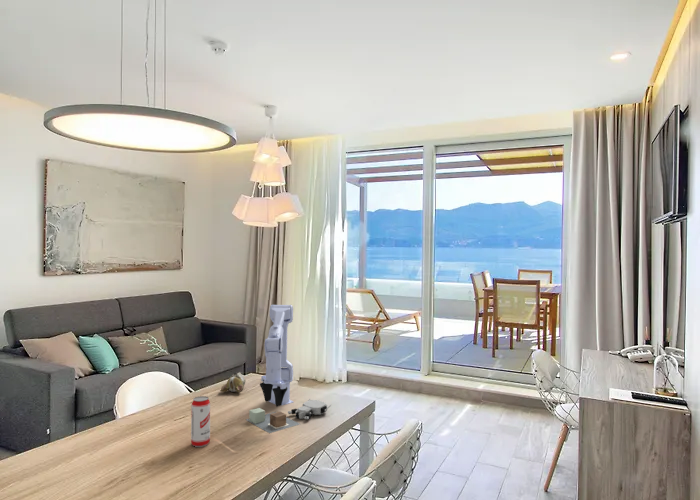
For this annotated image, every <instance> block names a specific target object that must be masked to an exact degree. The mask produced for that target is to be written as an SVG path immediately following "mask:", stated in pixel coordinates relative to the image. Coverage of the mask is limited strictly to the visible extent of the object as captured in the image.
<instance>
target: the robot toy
mask: <svg viewBox="0 0 700 500" xmlns="http://www.w3.org/2000/svg"><path fill="white" fill-rule="evenodd" d="M330 407H332V404H330V405H329V406H328V404H327V403H326V402H324V401H322V400H320V399H319V400H318V399H311V398H309V399H308V400H306V401H304V402H303V404H302V406H300V407H298V408H293V409H291V410H289V411H287V414H288V415H295V418H297V419H301V420H303V419H304V420H310V419H311V418H312V415H315V416H317V415H318V416H319V415H323V414H324V413H327V411H328V409H329V408H330Z"/></svg>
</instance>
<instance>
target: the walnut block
mask: <svg viewBox="0 0 700 500" xmlns="http://www.w3.org/2000/svg"><path fill="white" fill-rule="evenodd" d="M274 412H275V413H272V412H271V413H272V414H270V425H272V426H274V427H276V428H277V427H280V426H284V425H286V417H287V414H286V413H284V412H282V411H274Z"/></svg>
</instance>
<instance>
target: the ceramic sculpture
mask: <svg viewBox="0 0 700 500" xmlns="http://www.w3.org/2000/svg"><path fill="white" fill-rule="evenodd" d="M245 385H246V379H245V377H244V375H243V374H242V373H241V371H239V372H237V373H233V374H232V375H231V376H230V377H229V378H228V379H227V381H226V383H225V384H223V385H222V386H221V388H220V390H219V392H221V393H222V392H223V393H226V392H227V391H229V392H232V393H241V392H243V391H244V388H245Z"/></svg>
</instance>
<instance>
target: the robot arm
mask: <svg viewBox="0 0 700 500" xmlns="http://www.w3.org/2000/svg"><path fill="white" fill-rule="evenodd" d="M269 319H270V320H271V322H272V323H273V324H272V325H270V327H269V330H268V334H267V338H265V340H264V355H265V374H264V375H262V376H261V377H260V379H261V380H260V381H261V382H260V383H259V387H260V389H261V390H262V393H263V397H264V401H265V402H269V403H271V404H273V405H275V406H276V407H281V406H285V405H289V404H292V403H294V401H293V400H292V399H290V398H291V397H290V395H291V393H290V392H291V387H290V386H291V383H292V382H293V381H294V380H293V379H294V368H293V367H294V366H293V363H292V362H290V361H289V360H288V327H289V324H291V323H293V320H294V306H293V305H292V304H271V305H270V306H269Z"/></svg>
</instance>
